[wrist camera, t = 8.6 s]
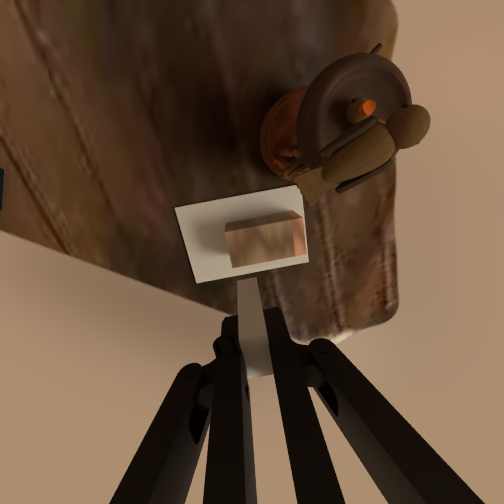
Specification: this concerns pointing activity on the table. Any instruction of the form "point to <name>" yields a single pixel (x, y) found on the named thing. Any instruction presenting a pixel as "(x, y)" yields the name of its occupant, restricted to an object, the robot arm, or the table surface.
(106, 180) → the table surface
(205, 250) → the mat
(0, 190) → the watch
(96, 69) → the table surface
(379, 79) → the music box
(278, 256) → the walnut block
